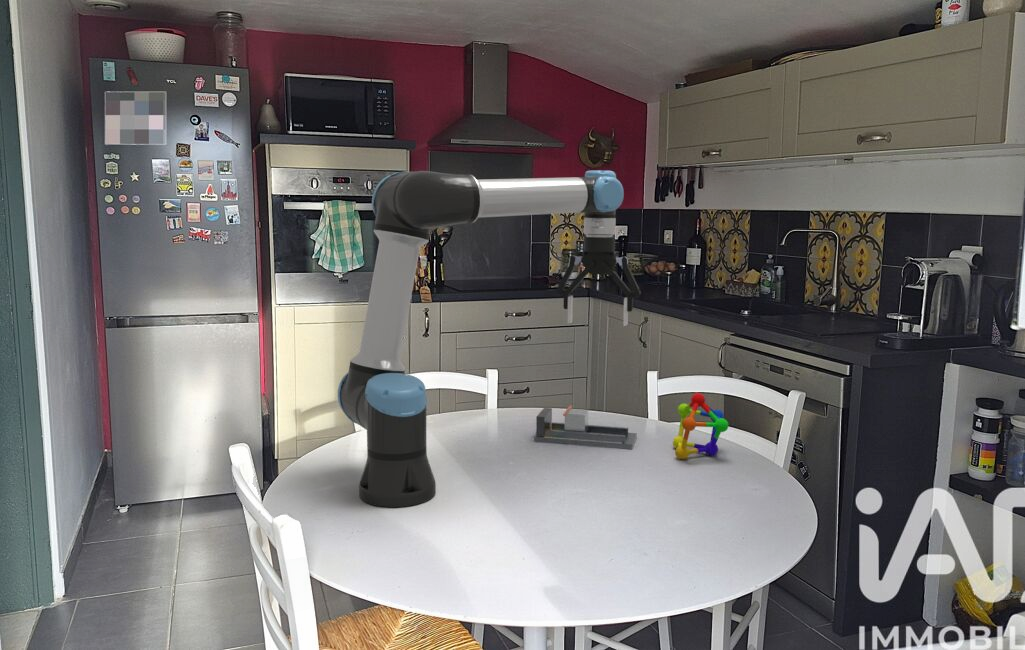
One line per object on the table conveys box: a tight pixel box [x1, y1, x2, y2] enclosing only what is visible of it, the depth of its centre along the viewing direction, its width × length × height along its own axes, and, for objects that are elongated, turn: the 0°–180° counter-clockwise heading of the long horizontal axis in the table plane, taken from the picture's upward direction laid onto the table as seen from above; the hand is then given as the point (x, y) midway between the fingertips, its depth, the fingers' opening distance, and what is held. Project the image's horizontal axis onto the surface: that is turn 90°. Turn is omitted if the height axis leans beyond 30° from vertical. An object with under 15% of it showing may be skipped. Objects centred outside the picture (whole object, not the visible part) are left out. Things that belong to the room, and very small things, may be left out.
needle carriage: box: [562, 404, 589, 433], centre depth 202 cm, size 5×9×6 cm, turn 166°
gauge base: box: [533, 407, 638, 450], centre depth 201 cm, size 24×10×6 cm, turn 76°
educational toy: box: [672, 392, 729, 460], centre depth 190 cm, size 16×13×15 cm
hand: (597, 323), depth 199 cm, fingers open, 13 cm apart
